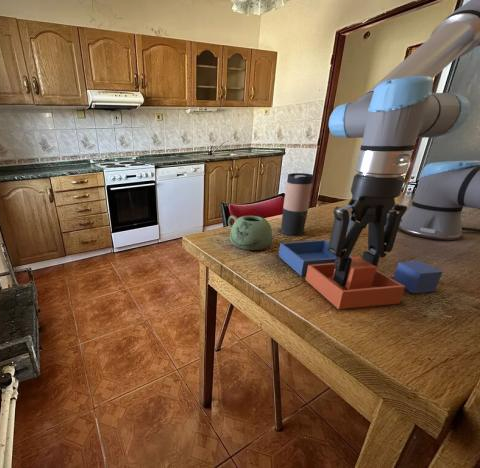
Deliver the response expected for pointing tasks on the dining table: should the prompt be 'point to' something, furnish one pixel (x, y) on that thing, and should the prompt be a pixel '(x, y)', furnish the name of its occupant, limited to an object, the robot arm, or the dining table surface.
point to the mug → (250, 232)
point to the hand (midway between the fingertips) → (351, 281)
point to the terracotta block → (359, 274)
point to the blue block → (417, 276)
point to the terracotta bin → (342, 298)
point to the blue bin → (306, 254)
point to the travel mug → (296, 203)
